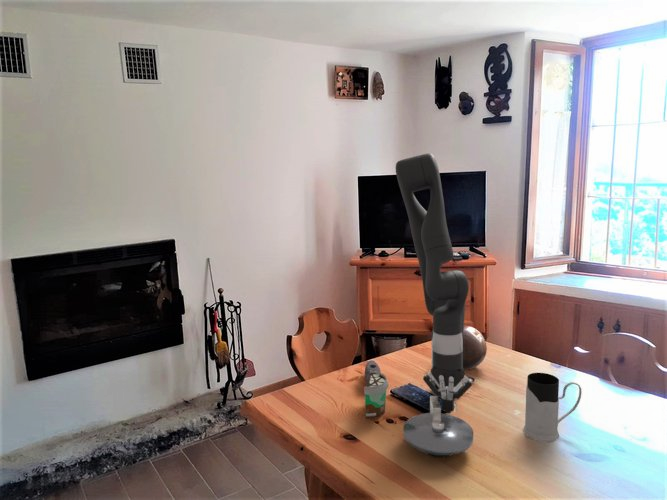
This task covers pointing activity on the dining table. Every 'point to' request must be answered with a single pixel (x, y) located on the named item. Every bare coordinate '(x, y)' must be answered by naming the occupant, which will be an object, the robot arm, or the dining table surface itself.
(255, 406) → the dining table surface
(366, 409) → the food container
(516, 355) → the dining table surface
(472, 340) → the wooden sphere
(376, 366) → the perforated stone tool
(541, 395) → the glass holder
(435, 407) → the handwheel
